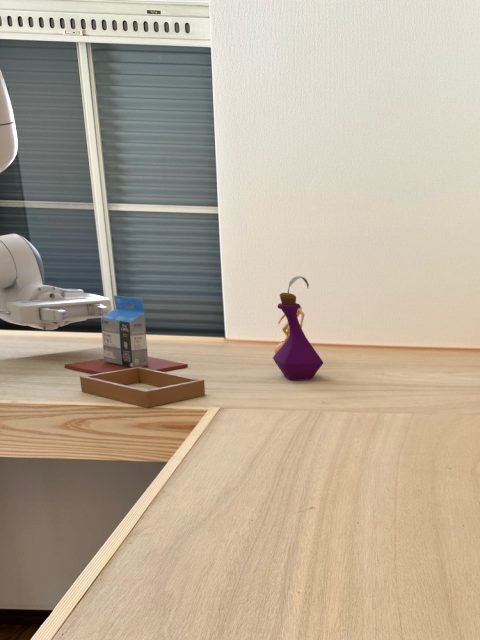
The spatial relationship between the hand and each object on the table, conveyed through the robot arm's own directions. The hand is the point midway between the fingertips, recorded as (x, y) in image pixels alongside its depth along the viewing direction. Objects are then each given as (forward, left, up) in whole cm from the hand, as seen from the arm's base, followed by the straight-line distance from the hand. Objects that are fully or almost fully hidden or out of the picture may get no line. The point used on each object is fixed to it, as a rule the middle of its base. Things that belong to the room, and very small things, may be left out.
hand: (85, 313), depth 142 cm
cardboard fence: (-12, -31, -9) cm, 35 cm away
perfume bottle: (+15, -41, -9) cm, 45 cm away
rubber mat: (0, -11, -9) cm, 15 cm away
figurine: (+26, -29, -9) cm, 40 cm away
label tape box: (0, -11, -8) cm, 14 cm away
